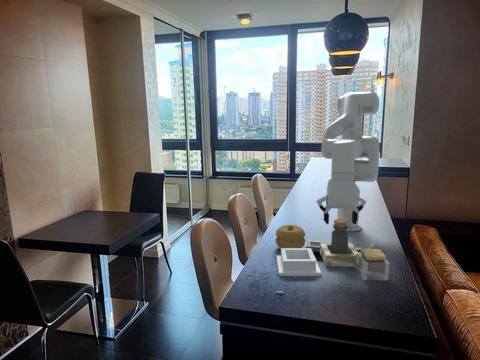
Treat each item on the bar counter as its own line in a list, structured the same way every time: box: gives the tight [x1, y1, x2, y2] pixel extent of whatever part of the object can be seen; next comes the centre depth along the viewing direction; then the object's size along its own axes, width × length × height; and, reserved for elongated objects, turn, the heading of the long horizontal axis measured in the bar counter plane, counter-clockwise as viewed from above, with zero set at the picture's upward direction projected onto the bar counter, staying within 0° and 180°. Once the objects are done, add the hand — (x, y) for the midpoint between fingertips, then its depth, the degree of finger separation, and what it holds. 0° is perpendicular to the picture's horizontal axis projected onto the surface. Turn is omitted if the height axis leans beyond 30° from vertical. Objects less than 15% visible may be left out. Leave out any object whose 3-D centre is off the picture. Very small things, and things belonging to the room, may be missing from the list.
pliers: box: [348, 239, 374, 253], centre depth 139 cm, size 10×2×15 cm
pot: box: [275, 224, 306, 250], centre depth 139 cm, size 12×12×10 cm
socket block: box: [319, 242, 390, 281], centre depth 124 cm, size 22×18×6 cm
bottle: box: [330, 218, 349, 254], centre depth 128 cm, size 6×6×15 cm
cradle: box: [276, 247, 322, 277], centre depth 124 cm, size 14×14×5 cm
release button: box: [360, 248, 387, 262], centre depth 117 cm, size 6×6×6 cm
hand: (340, 223), depth 126 cm, fingers open, 9 cm apart
